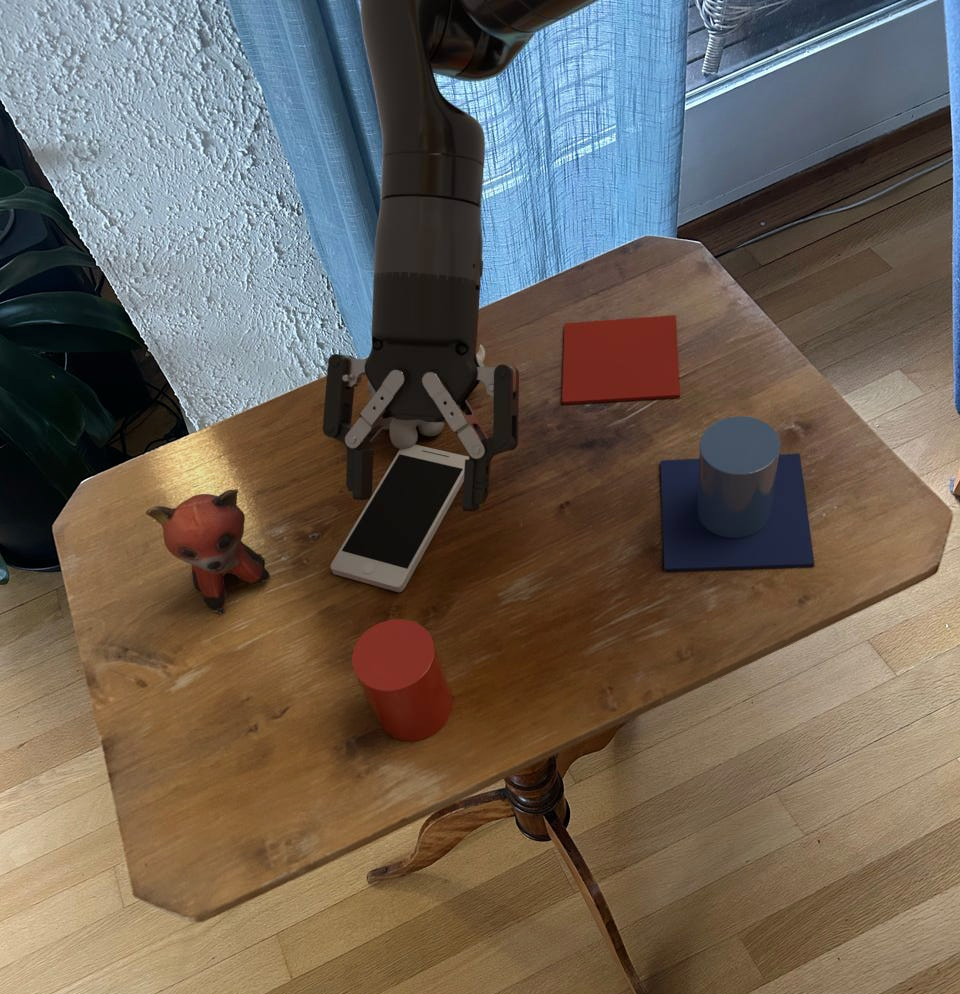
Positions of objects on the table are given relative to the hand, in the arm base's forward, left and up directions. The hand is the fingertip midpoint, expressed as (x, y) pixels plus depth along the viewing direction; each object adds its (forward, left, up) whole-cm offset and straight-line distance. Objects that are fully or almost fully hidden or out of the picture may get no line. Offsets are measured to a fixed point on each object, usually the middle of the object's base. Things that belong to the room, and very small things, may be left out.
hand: (415, 505), depth 76 cm
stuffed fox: (+20, -5, -13) cm, 24 cm away
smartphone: (+5, -10, -13) cm, 17 cm away
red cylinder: (+2, +10, -13) cm, 16 cm away
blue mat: (-24, -9, -13) cm, 29 cm away
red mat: (-15, -28, -13) cm, 34 cm away
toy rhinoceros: (+3, -22, -13) cm, 26 cm away
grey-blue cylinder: (-24, -9, -13) cm, 29 cm away
